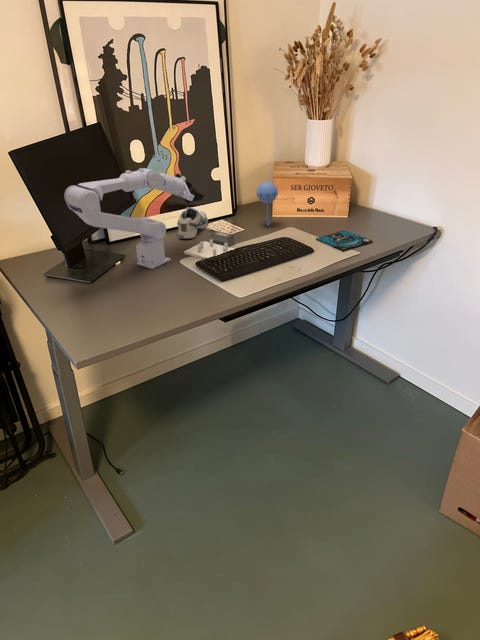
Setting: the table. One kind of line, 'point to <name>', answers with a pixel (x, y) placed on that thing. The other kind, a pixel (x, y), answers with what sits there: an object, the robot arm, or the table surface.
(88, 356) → the table surface
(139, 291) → the table surface
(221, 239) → the block
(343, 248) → the guitar string package
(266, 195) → the baby rattle
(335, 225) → the table surface
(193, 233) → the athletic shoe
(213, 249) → the pegged base plate
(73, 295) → the table surface
